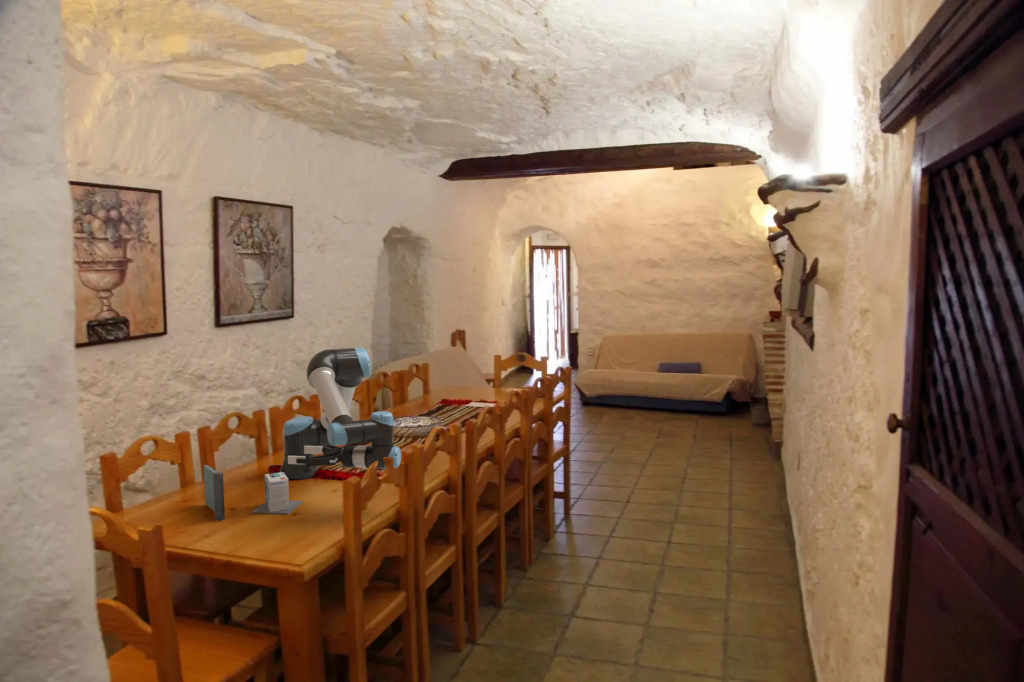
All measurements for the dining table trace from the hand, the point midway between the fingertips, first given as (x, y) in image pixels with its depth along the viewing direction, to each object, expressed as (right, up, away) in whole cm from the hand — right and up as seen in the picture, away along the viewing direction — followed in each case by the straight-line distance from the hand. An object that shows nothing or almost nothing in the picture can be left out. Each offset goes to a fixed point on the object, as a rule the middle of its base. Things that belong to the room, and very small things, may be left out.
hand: (296, 454), depth 249 cm
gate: (-29, -19, 0) cm, 34 cm away
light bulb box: (-8, -19, +3) cm, 21 cm away
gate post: (-23, -21, -9) cm, 32 cm away
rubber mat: (-8, -19, +4) cm, 21 cm away
